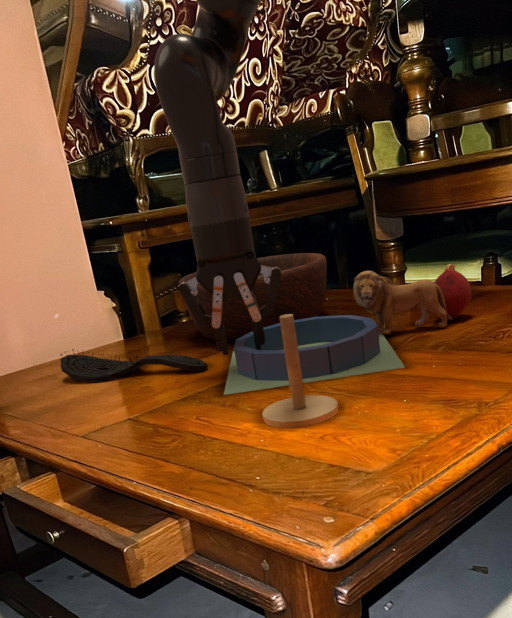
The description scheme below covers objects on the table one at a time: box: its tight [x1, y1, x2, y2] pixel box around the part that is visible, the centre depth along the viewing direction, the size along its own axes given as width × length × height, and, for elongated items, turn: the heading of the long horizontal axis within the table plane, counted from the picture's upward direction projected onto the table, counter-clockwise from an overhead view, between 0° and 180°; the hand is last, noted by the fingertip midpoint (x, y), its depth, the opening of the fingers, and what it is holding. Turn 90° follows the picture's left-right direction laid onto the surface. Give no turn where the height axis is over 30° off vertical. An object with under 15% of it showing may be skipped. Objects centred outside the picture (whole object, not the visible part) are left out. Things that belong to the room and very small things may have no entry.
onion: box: [433, 263, 473, 320], centre depth 101 cm, size 6×6×8 cm
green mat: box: [223, 330, 406, 396], centre depth 93 cm, size 22×22×1 cm
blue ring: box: [233, 314, 380, 380], centre depth 93 cm, size 19×19×4 cm
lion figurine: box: [352, 270, 454, 335], centre depth 98 cm, size 15×5×9 cm, turn 101°
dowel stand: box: [261, 314, 339, 429], centre depth 71 cm, size 8×8×11 cm
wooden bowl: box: [178, 252, 328, 342], centre depth 118 cm, size 25×25×10 cm
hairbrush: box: [60, 348, 209, 384], centre depth 103 cm, size 8×4×25 cm
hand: (242, 350), depth 93 cm, fingers open, 4 cm apart
